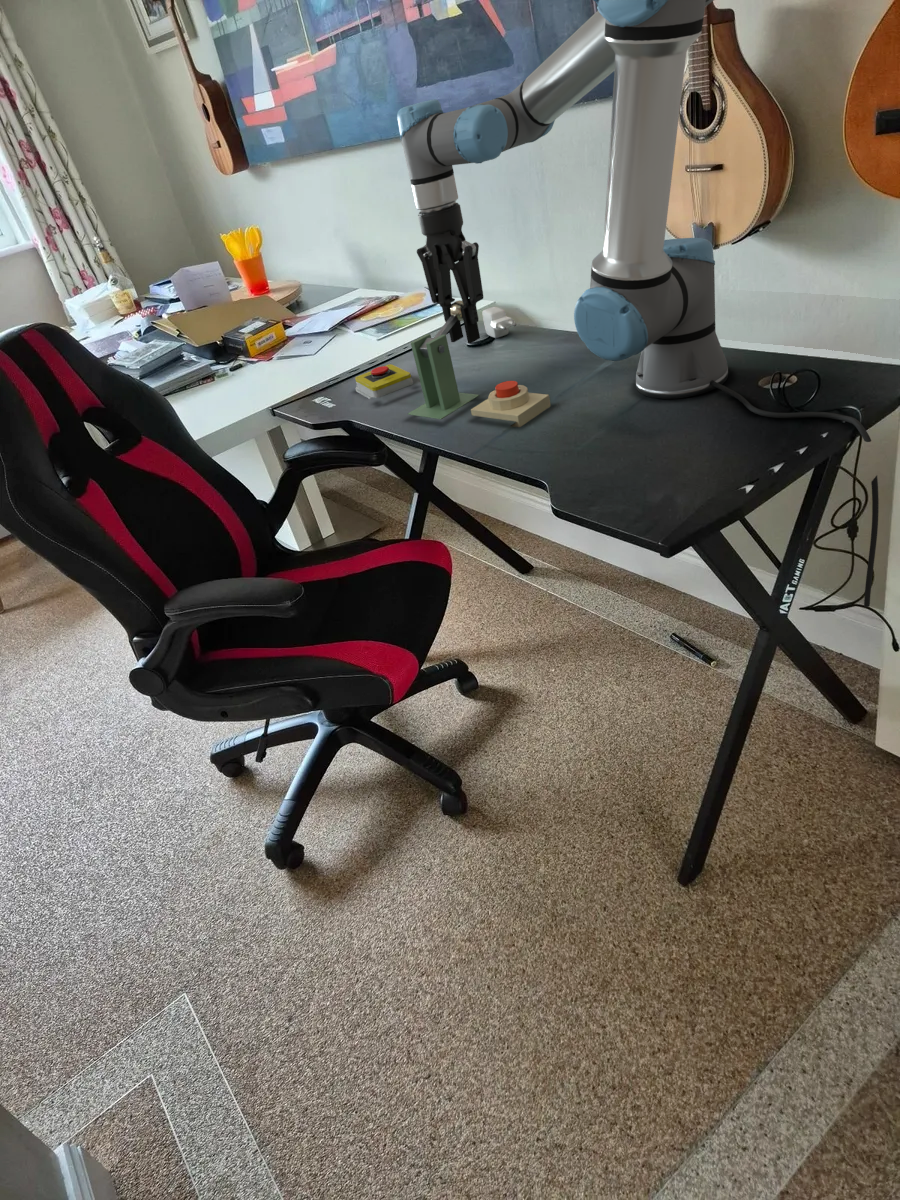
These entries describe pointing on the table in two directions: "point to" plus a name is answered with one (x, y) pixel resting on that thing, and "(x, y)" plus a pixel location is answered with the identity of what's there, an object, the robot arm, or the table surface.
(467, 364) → the table surface
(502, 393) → the button
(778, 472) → the table surface
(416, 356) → the switch bracket
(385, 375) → the emergency button
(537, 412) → the button console
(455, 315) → the lever switch
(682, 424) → the table surface
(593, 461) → the table surface
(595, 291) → the robot arm
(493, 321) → the power adapter
